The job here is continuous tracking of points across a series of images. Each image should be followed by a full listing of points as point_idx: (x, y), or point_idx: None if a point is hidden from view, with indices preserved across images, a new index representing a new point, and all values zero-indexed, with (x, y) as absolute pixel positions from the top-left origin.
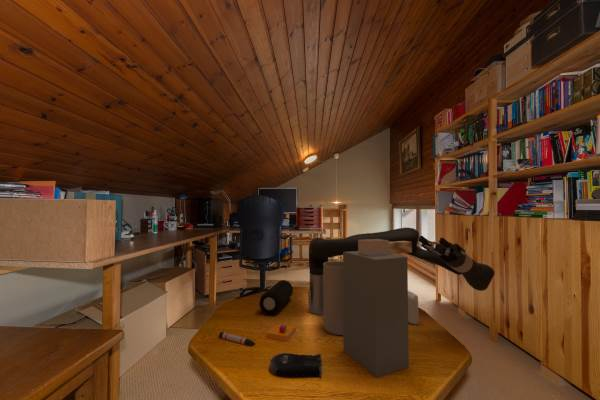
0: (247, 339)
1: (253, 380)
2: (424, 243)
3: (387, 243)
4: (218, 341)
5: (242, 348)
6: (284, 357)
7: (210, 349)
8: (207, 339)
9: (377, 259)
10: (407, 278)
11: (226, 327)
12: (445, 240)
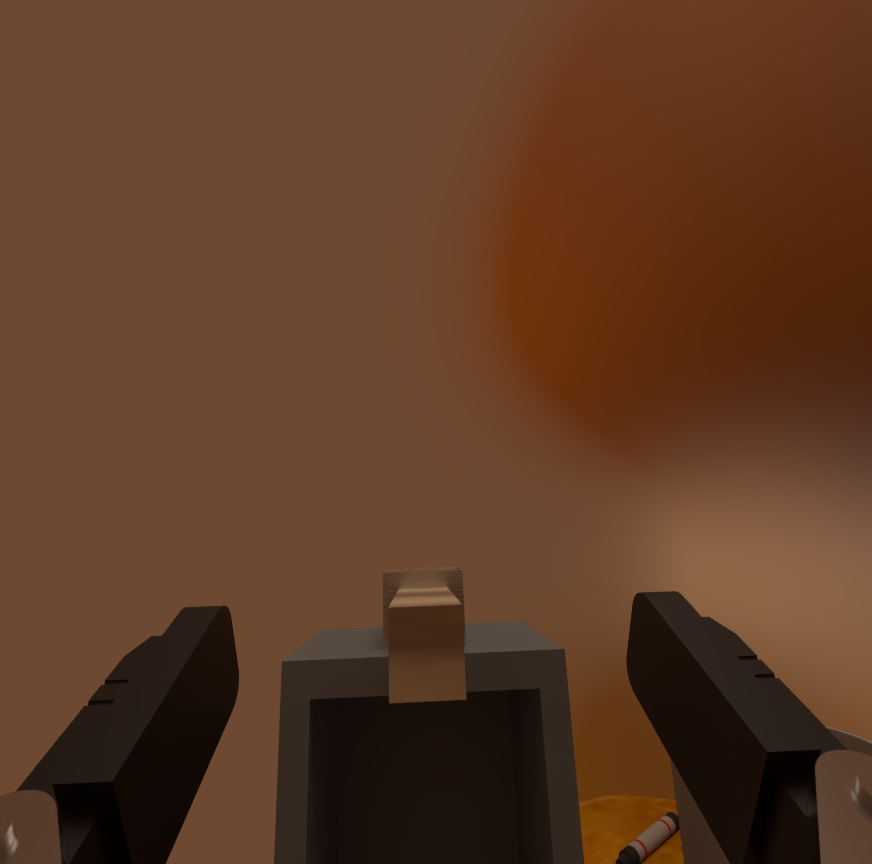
0: (628, 848)
1: None
2: (700, 796)
3: (383, 588)
4: (646, 822)
5: (606, 854)
6: None
7: (606, 813)
8: (657, 809)
9: (323, 630)
10: (277, 790)
11: None
12: (127, 666)
